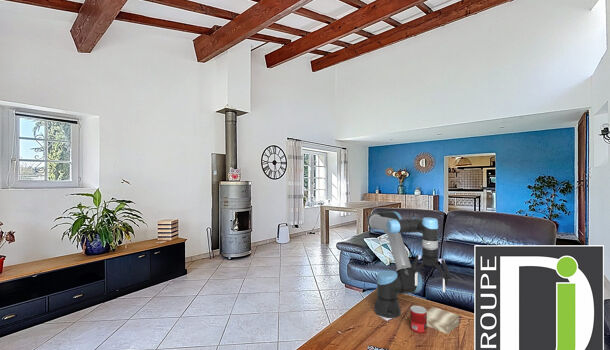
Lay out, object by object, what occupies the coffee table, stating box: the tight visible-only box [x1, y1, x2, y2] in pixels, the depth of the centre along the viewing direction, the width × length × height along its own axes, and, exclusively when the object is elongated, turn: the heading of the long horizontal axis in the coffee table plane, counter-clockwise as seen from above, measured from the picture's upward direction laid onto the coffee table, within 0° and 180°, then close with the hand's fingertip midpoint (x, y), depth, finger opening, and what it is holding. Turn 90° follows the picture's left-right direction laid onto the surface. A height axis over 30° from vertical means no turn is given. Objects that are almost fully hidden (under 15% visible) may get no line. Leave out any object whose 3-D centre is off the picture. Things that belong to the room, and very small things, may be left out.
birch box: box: [426, 306, 460, 335], centre depth 154 cm, size 14×14×5 cm
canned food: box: [409, 305, 428, 334], centre depth 149 cm, size 8×8×11 cm
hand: (429, 288), depth 148 cm, fingers open, 13 cm apart
